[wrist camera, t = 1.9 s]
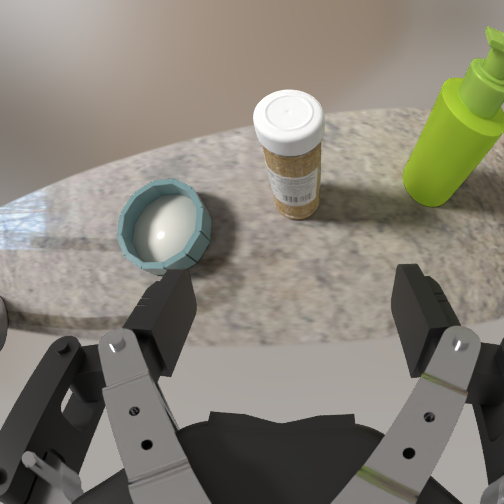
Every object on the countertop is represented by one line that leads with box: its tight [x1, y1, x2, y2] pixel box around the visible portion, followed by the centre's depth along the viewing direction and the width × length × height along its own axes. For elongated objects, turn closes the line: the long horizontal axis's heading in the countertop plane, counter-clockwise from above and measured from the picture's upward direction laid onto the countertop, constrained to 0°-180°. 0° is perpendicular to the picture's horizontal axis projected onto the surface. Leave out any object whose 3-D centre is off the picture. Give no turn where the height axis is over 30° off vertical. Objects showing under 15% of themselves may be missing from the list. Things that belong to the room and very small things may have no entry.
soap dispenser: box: [403, 26, 504, 207], centre depth 19 cm, size 6×7×20 cm
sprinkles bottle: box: [253, 90, 325, 219], centre depth 24 cm, size 5×5×13 cm
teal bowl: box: [117, 179, 212, 275], centre depth 31 cm, size 9×9×3 cm
